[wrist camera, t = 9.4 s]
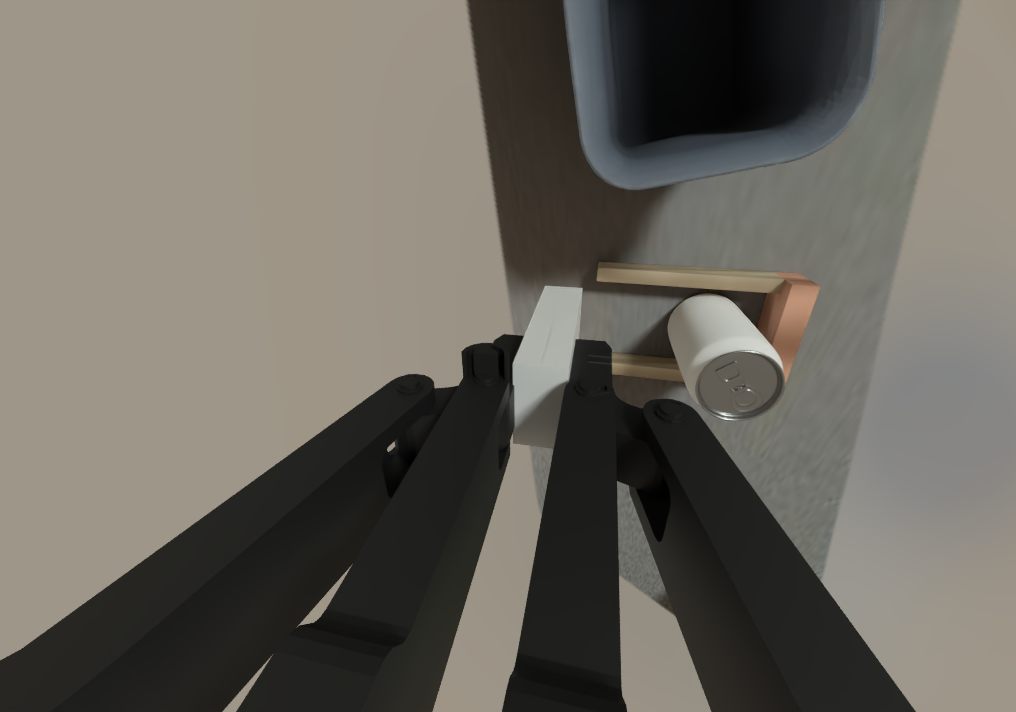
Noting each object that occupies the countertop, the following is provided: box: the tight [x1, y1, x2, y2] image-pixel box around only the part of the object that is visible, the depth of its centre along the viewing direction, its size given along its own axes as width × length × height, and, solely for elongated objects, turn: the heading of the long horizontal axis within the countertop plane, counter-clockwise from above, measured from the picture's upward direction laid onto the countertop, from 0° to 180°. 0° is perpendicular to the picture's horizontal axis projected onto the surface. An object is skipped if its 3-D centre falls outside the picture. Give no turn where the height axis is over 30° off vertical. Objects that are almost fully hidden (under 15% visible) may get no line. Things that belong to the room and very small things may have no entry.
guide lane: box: [597, 261, 821, 384], centre depth 37 cm, size 10×17×4 cm, turn 90°
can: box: [667, 293, 785, 421], centre depth 34 cm, size 6×6×12 cm
